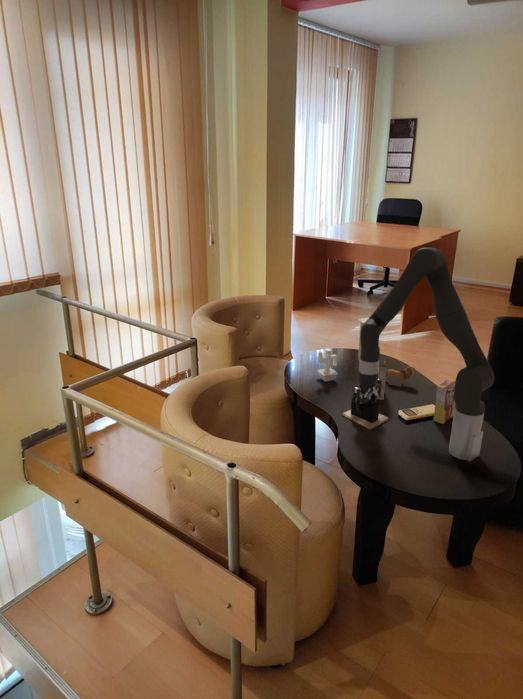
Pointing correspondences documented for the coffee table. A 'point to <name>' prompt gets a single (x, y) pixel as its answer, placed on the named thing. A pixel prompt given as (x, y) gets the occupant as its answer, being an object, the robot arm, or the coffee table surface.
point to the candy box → (444, 401)
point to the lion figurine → (401, 374)
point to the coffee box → (381, 376)
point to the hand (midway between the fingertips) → (366, 407)
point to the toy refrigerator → (360, 332)
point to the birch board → (363, 422)
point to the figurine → (327, 365)
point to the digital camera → (366, 410)
